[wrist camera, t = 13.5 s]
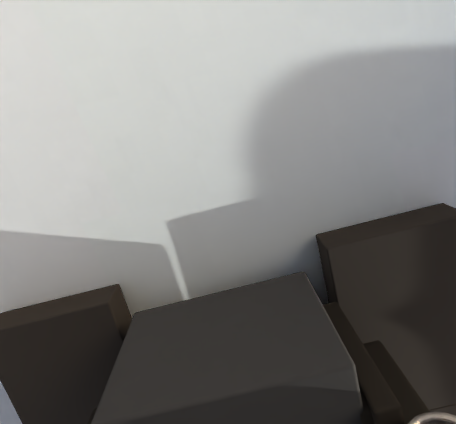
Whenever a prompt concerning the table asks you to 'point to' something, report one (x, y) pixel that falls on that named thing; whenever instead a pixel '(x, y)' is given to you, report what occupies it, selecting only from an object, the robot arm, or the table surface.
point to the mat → (337, 292)
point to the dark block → (234, 362)
